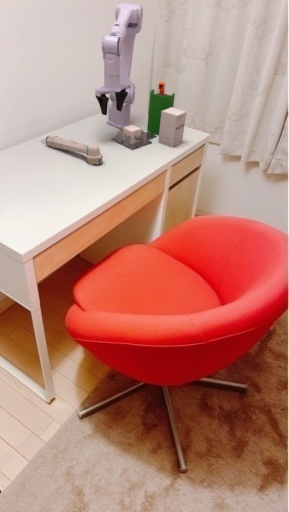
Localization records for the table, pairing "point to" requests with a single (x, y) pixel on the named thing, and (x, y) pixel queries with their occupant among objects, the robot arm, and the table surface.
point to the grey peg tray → (126, 142)
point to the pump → (132, 133)
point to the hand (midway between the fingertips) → (111, 112)
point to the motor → (158, 108)
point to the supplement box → (172, 126)
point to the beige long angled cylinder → (76, 148)
